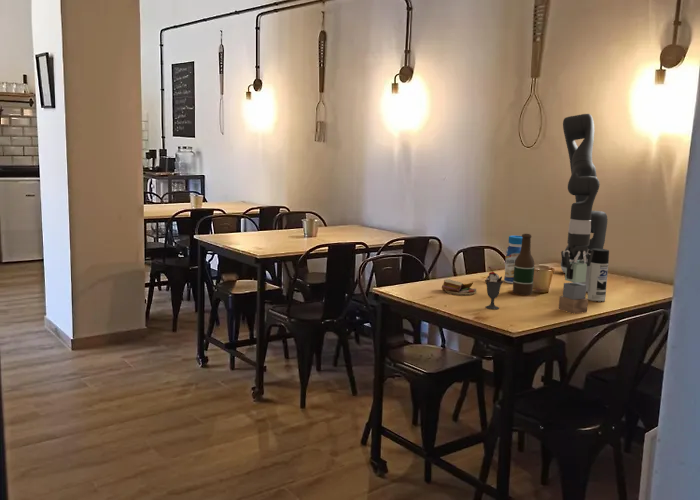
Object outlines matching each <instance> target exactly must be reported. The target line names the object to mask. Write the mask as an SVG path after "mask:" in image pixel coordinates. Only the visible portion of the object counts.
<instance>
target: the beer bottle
mask: <svg viewBox="0 0 700 500" xmlns="http://www.w3.org/2000/svg"><path fill="white" fill-rule="evenodd" d="M521 236H522V244H521V251H520V254H519V255H518V257H517V258H516V260H515V265H514V278H513V283H512V293H514V294H516V295H520V296H521V295H522V296H530V295H532V294H533V289H534V276H535V259H534V257H533V255H532V253H531V243H532V242H531V239H532V234H531V233H523V234H521Z"/></svg>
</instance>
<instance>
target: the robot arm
mask: <svg viewBox="0 0 700 500" xmlns="http://www.w3.org/2000/svg"><path fill="white" fill-rule="evenodd" d="M562 130H563V134H564V139H565V144H566V148H567V153H568V159H569V164H570V166H569V167H570V177H569V180H568V182H567V190H568V193H569V194H570V195H572V196H574V197H575V202H573V203H572V204H571V206H570V216H569V217H570V219H569V223H568V232H567V233H568V234H567V245H569V248H568V250H567V251H565V250H561V252H560V253H561V260H562V266H563V267H566V268H567V273H566V277H567V279H573V267H574V264H575V263H576V262H577V261H578V262H579V263H583V264H587V270H586V281H585V282H578V283H580V284H584V285H586V293H588V284H589V271H590V264H591V260H592V256H593V253H594V251H593V250H592V249H595V248H599V249H604V246H605V241H606V235H607V229H608V215H607V213H606V211H605V212H604V211H601V210H593V206H594V202H595V199H596V197H597V196H598V192H599V189H600V185H601V184H600V180H599V178H598V177H597V171H596V166H595V165H594V163H593V149H594V142H595V141H594V139H595V122H594V118H593V116H592V114H590V113H582V114H577V115H570V116H567V117H564V118H563V121H562ZM579 140H582V142H580V144H579V145H577V142H576V141H579ZM591 234H593V235H592V237H591ZM571 259H572V260H571ZM565 261H566V262H565ZM570 263H571V265H570Z"/></svg>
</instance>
